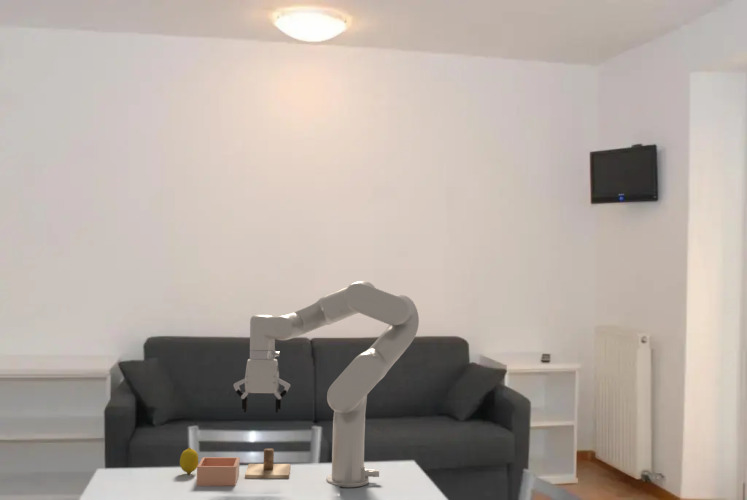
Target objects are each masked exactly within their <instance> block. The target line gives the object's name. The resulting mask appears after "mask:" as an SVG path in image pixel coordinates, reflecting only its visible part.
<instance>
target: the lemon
mask: <svg viewBox="0 0 747 500" xmlns="http://www.w3.org/2000/svg"><path fill="white" fill-rule="evenodd" d="M179 457H180V459H179V466H180V468H181V470H182V471H183V472H185V473H186V474H187V475H190V474H191V473H192V472H195V470H197V466H198V464H199V455H198V452H197V451H196V450H194V449H193V448H192V447H188V448H187V449H185V450H183V451H182V453H181V454H180V456H179Z"/></svg>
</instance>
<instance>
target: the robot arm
mask: <svg viewBox="0 0 747 500" xmlns="http://www.w3.org/2000/svg"><path fill="white" fill-rule="evenodd" d="M356 314H361V315H363V316H366V317H369V318H371V319H373V320H376V321H379V322H381V323H383V324H387V325H388V326H387V327H386V329H385V330H384V331H382V332H381V334H380V335H379V337H378V338H377V339H376V340H375V342H373V344H372V345H371V346H370V347H369V348H368V349H367V350H365V351H363V352H361V353H360V354H358V355H357V356H355V358H354V359H353V360H352V361H351V362H350V363H349V365H347V367H346V368H345V369H344V370H343V371H342V372H341V373H340V374H339V376H338V377H337V378H336V379H335V380H334V381H333V382H332V384H331V385H330V386H329V388H328V390H327V394H326V400H327V404H328V406H329V407H330V408H331V410H333V417H332V419H333V420H332V446H331V447H332V448H331V449H332V450H331V451H332V452H331V458H332V459H331V474H328V475H327V477H326V479H325V480H326V483H328V484H331V485H333V486H338V487H340V488H358V487H362V486H366V485H368V483H369V482H370V481H369V480H370V479H369V478H371V477H372V478H380V470H379V469H378V470H375V469H374V468H371V469H370V468H369V469H368V468H367V467H366V466H365V437H366V436H365V433H366V431H365V430H366V410H367V400H368V394H369V393H370V392H371V391H372V390H373V389H374V388H375V386H377V384H379V382H380V381H381V380H383V378H385V376H386V375H387V373H388V372H389V370H390V369H392V367H393V365H394V364H395V363H396V362H397V361H398V360H399V359H400V357H401V356H402V355H403V354H404V353H405V352H406V350H407V349H408V348H409V347H410V346H411V344H412V343H413V341H414V339H415V337H416V335H417V332H418V329H419V323H420V322H419V321H420V320H419V313H418V308H417V305H416V304H415V302H414V301H413V300H412V299H411V298H410V297H409V296H407V295H403V294H396V295H394V294H392V293H389V292H387V291H383V290H381V289H379V288H376V286H374V284H373V283H371V282H369V281H366V280H361V281H360V280H359V281H355V282H352V283H350V284H349V285H348V286H346V287H344V288H342V289H339V290H336V291H334V292H332V293H329V294H327V295H324V296H322V297H321V298H318V300H317V301H316V302H314V303H313V304H311V305H308V306H307V307H303V308H301V309H298V310H297V311H294V312H290V313H287V314H284V315H277V316H274V315H270V314H255V315H252V316H251V317H250V322H249V358H248V359H247V361H246V367H245V375H244V378H243V379H241V380H239V381H236V382H235V383H234V384H233V388H234V390H235V393H236V394H237V395H238V396H239V397H240V399H241V409H242V410H243V413H247V412H248V411H249V399H248V395H249V394H274V396H275V397H276V399H275V413H279V411H280V410H281V409H282V399H283V397H284V396H285V395H286V394H287V393H288V391H289V389H290V388H291V384H290V383H288V382H287V381H285V380H283V379H281V378H280V371H279V369H280V368H279V363H278V359H277V358H276V357H280V351H276V348H275V347H276V346H275V345H276V341H275V340H278V341H288V340H291V339H294V338H297V337H301V336H302V335H304V334H307V333H310V332H312V331H314V330H315V331H316V330H318V329H319V328H322V327H325V326H329V325H333V324H334V323H337V322H339V321H342V320H344V319H347V318H349V317H351V316H354V315H356ZM241 385H244V391H243V390H242V389H241V387H240V386H241ZM280 385H281V386H283V387H284V389H283V390H282V391H281V392H280V390H279V389H280Z"/></svg>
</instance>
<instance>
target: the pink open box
mask: <svg viewBox="0 0 747 500" xmlns="http://www.w3.org/2000/svg"><path fill="white" fill-rule="evenodd" d="M240 459H241V458H240V457H237V456H236V457H235V456H234V457H228V456H227V457H226V456H224V457H223V456H222V457H220V456H219V457H217V456H216V457H215V456H214V457H213V456H211V457H210V456H203V457H201V459H200V462H198V466H197V468H196V487H201V486H202V487H236V486H237V483H238V480H239V477H240V463H241V462H240Z"/></svg>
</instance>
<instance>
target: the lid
mask: <svg viewBox="0 0 747 500" xmlns="http://www.w3.org/2000/svg"><path fill="white" fill-rule="evenodd" d="M274 452H275V449H274V448H263V463H248V465H247V467H246V471H245V474H244V479H289V478H290V472H291V464H290V463H274V461H275V460H274V459H275V458H274V455H275V453H274Z"/></svg>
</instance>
